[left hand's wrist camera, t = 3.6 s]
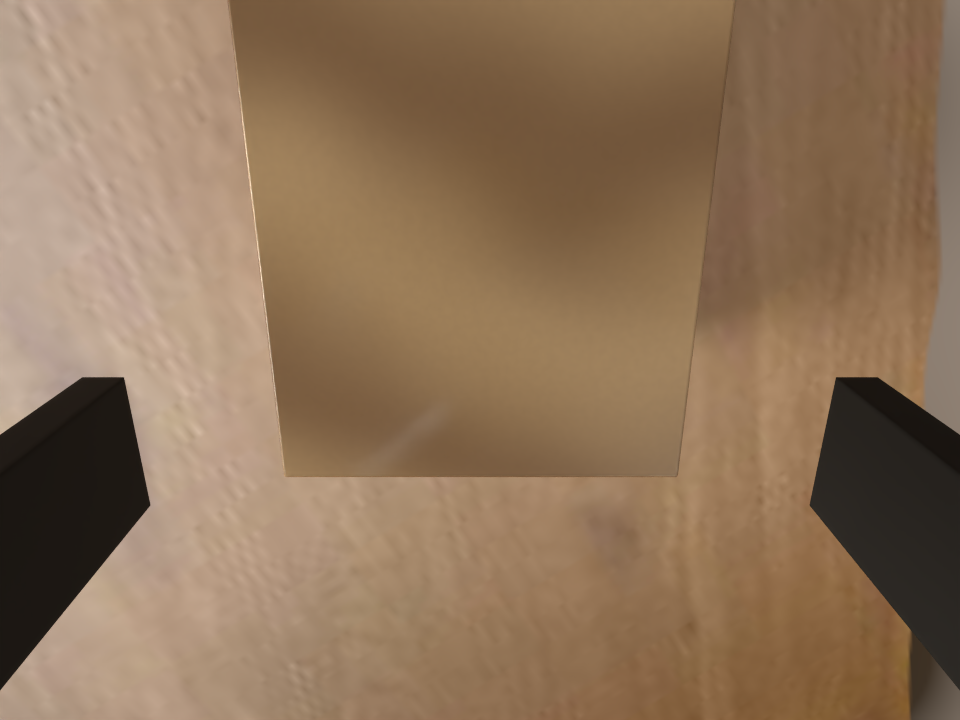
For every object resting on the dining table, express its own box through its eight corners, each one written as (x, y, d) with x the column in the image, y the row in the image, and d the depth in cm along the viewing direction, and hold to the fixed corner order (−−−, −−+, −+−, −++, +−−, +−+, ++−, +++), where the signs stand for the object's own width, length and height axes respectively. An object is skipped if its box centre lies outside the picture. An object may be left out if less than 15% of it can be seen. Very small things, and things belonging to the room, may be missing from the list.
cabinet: (298, -293, 21) (153, -609, 12) (663, -293, 21) (811, -607, 12) (347, 355, 29) (283, 478, 19) (613, 355, 29) (678, 478, 19)
